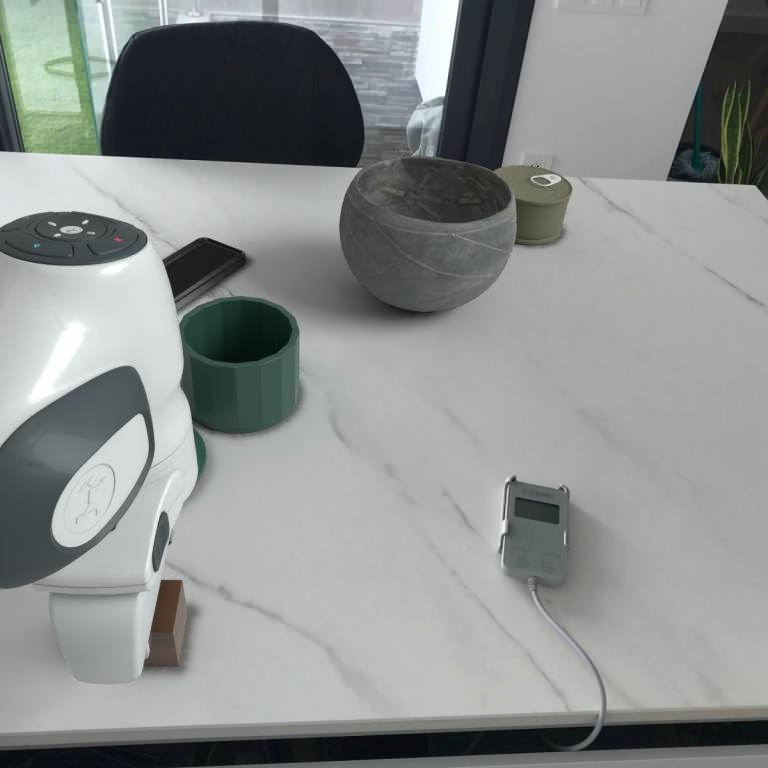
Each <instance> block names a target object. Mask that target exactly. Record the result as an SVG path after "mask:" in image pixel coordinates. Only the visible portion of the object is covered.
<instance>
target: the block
mask: <svg viewBox="0 0 768 768" xmlns="http://www.w3.org/2000/svg"><path fill="white" fill-rule="evenodd" d="M184 588H185V587H184V581H183V579H161V582H160V587H159V592H158V596H157V601H156V606H155V611H154V616H153V621H152V625H151V635H152V642H151V647H150V652H149V657H148V658H147V659H144V665H143V667H178V666H180V661H181V656H182V649H183V642H184V638H185V637H184V636H185V630H186V627H187V626H186V625H187V621H188V608H187V600H186V594H185V589H184Z"/></svg>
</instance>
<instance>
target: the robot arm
mask: <svg viewBox="0 0 768 768" xmlns="http://www.w3.org/2000/svg"><path fill="white" fill-rule="evenodd" d="M162 260H163V259H162V257H161V254H160V252H159V250H158V248H157V246H156V245H155V243H154V241H153V240H152V239H151V237H150V236H149V235H148V234H147V233H146V232H145V231H144V230H143V229H140V228H138V227H136V226H135V225H134V224H132V223H129V222H126V221H123V220H119V219H116V218H112V217H109V216H105V215H100V214H95V213H91V212H90V213H89V212H85V211H84V212H83V211H77V210H71V211H43V212H37V213H32V214H29V215H24V216H21V217H19V218H16V219H14V220H12V221H10V222H8V223H5V224H4V225H2V226H0V590H11V589H16V588H20V587H21V588H22V587H23V586H28V585H31V586H32V588H33V590H35V591H37V592H44V593H48V594H49V595H48V611H49V617H50V622H51V627H52V629H53V632H54V635H55V638H56V640H57V642H58V643H57V644H58V645H59V648H60V650H61V653H62V656H63V658H64V660H65V662H66V664H67V667H68V669H69V670H70V672H71V674H72V675H73V677H74V678H75V679H76V680H77V681H79V682H81V683H84V684H91V685H121V684H128V683H132V682H133V681H136V680H137V679H138V678H140V677H141V675H142V672H143V670H144V666H143V665H144V659H147V658H148V657H149V652H150V647H151V642H152V635H151V625H152V621H153V616H154V611H155V606H156V601H157V596H158V592H159V587H160V582H161V580H162V577H163V571H164V568H165V563H166V557H167V554H168V553H167V552H168V548H169V546H170V545H172V543H173V537H174V533H175V529H176V525H175V524H176V521H177V520H178V518H179V516H180V514H181V512H182V508H183V506H184V503H185V502H186V500H187V499H189V497H190V495H191V493H192V492H193V491H194V489H195V487H196V485H195V483H196V480H197V475H198V464H197V457H196V449H195V442H194V434H193V428H194V426H193V420H192V418H193V417H192V415H191V411H190V406H189V403H188V400H187V398H186V396H185V394H184V392H183V388H182V387H181V382H182V373H183V366H184V357H183V348H182V341H181V334H180V328H179V323H180V322H179V316H178V312H177V311H178V310H176V306H175V302H174V298H173V293H172V289H171V286H170V282H169V279H168V275H167V272H166V269H165V266H164V263H163V261H162Z"/></svg>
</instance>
